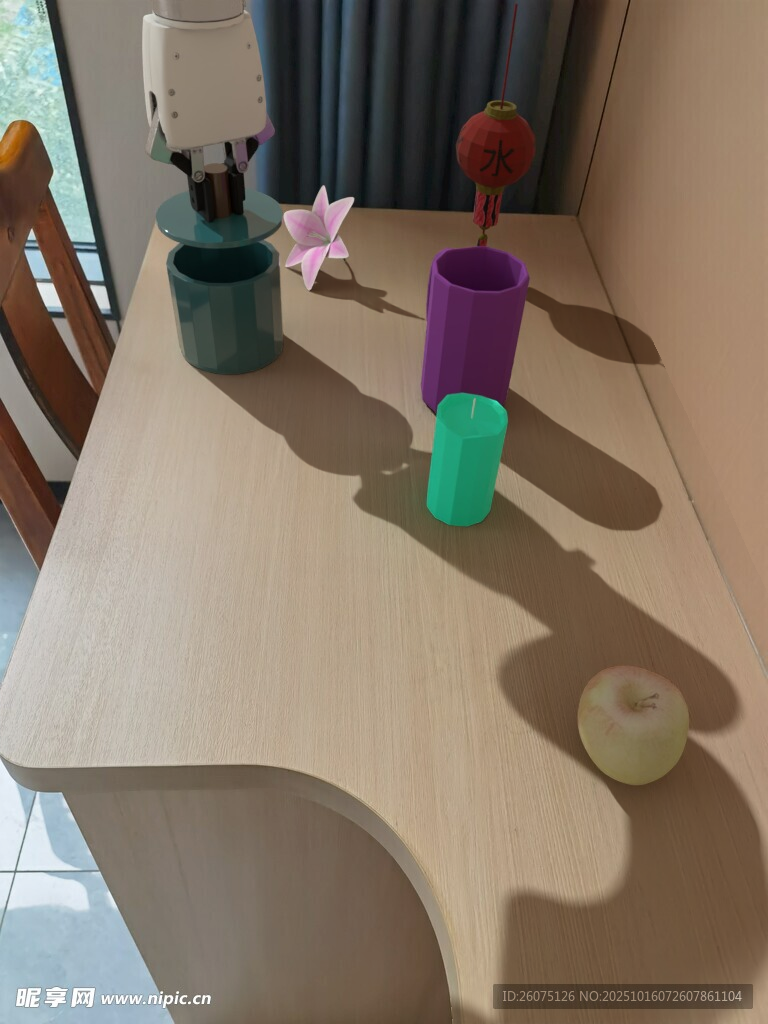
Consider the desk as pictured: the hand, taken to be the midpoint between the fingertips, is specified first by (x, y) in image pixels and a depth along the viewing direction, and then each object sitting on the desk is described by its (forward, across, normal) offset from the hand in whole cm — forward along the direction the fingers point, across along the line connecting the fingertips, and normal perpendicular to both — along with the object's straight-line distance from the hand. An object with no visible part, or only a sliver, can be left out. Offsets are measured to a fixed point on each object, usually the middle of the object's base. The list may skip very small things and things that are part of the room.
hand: (219, 211), depth 79 cm
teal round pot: (+15, 0, 0) cm, 15 cm away
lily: (+16, -17, -10) cm, 25 cm away
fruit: (+16, 0, +59) cm, 61 cm away
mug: (+16, -17, +18) cm, 29 cm away
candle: (+16, -6, +34) cm, 37 cm away
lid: (+1, 0, 0) cm, 1 cm away
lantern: (+16, -36, 0) cm, 39 cm away
